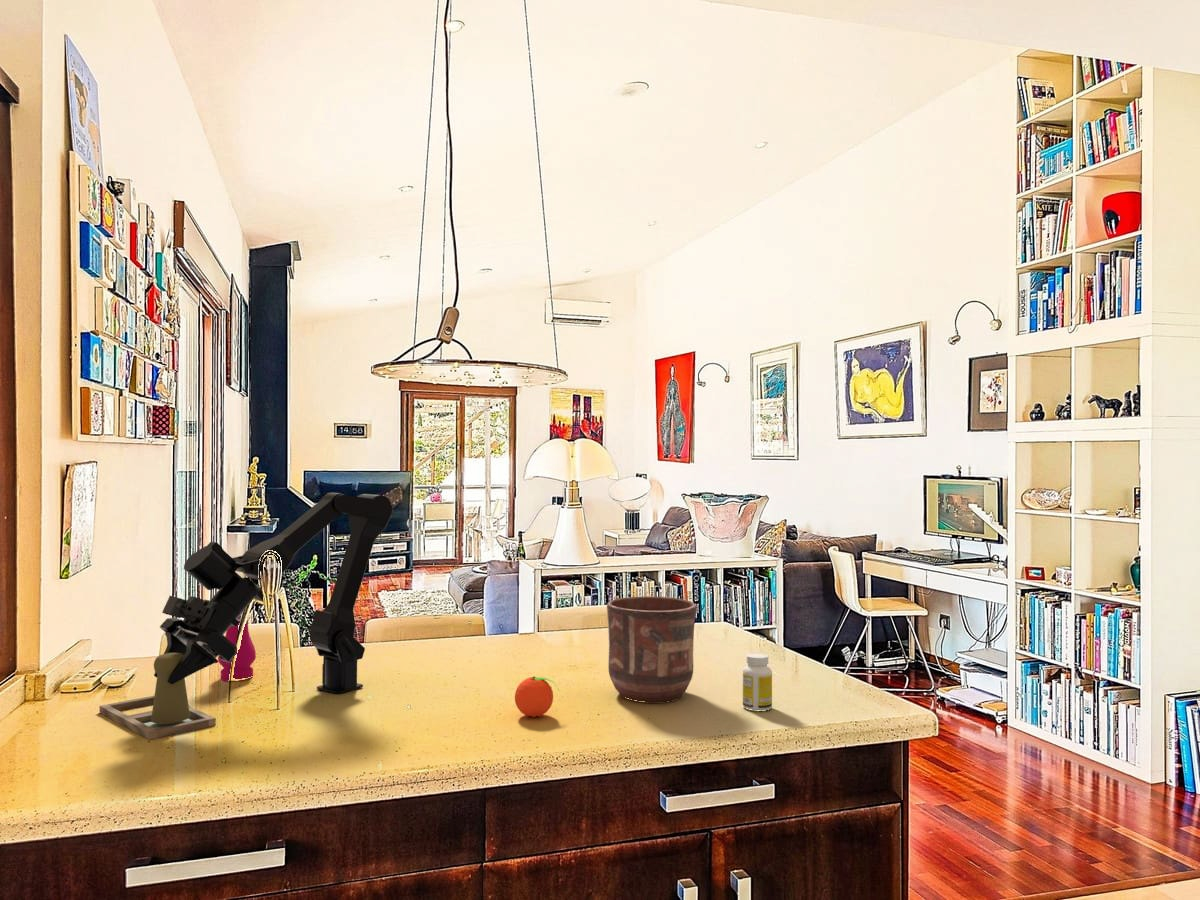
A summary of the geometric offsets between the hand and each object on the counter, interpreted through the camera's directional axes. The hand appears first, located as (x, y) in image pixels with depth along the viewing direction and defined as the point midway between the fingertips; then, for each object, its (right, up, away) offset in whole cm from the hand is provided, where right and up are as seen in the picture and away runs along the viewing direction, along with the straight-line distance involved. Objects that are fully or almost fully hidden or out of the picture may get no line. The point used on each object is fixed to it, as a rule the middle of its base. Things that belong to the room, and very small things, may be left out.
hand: (162, 679), depth 152 cm
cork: (+1, -7, +1) cm, 7 cm away
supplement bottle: (+103, -9, +15) cm, 105 cm away
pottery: (+84, -9, +24) cm, 88 cm away
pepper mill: (-1, -8, +33) cm, 34 cm away
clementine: (+63, -9, +9) cm, 64 cm away
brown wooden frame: (-3, -8, +5) cm, 10 cm away
